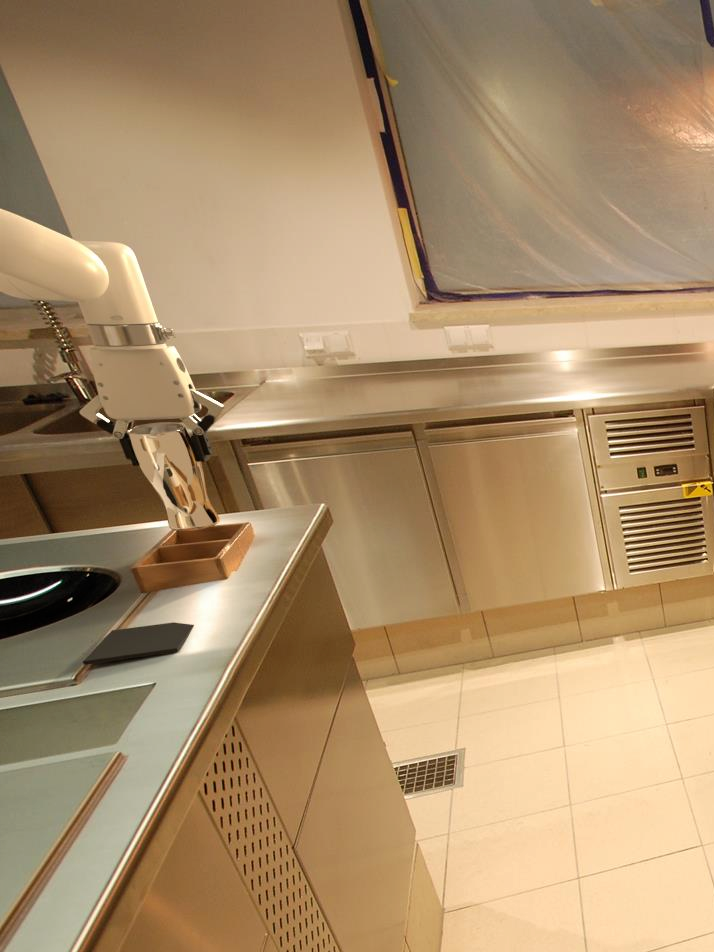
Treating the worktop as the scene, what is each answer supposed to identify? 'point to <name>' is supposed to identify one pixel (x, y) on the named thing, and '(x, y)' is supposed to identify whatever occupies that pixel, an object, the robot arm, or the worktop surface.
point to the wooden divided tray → (193, 557)
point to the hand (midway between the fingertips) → (172, 461)
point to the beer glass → (174, 473)
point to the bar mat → (140, 642)
